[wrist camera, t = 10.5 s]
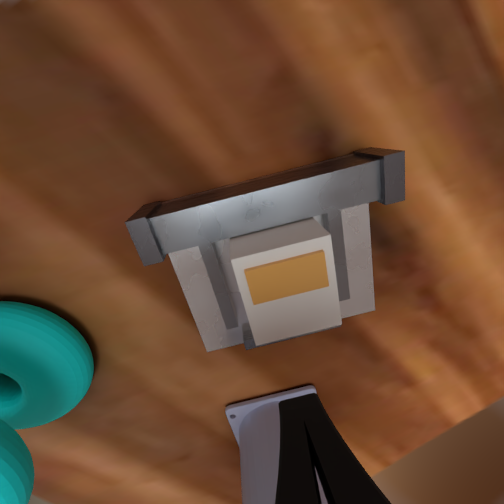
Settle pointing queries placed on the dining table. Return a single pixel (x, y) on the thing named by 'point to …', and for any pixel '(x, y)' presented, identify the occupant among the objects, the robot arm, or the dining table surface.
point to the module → (287, 280)
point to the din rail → (262, 217)
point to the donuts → (35, 385)
